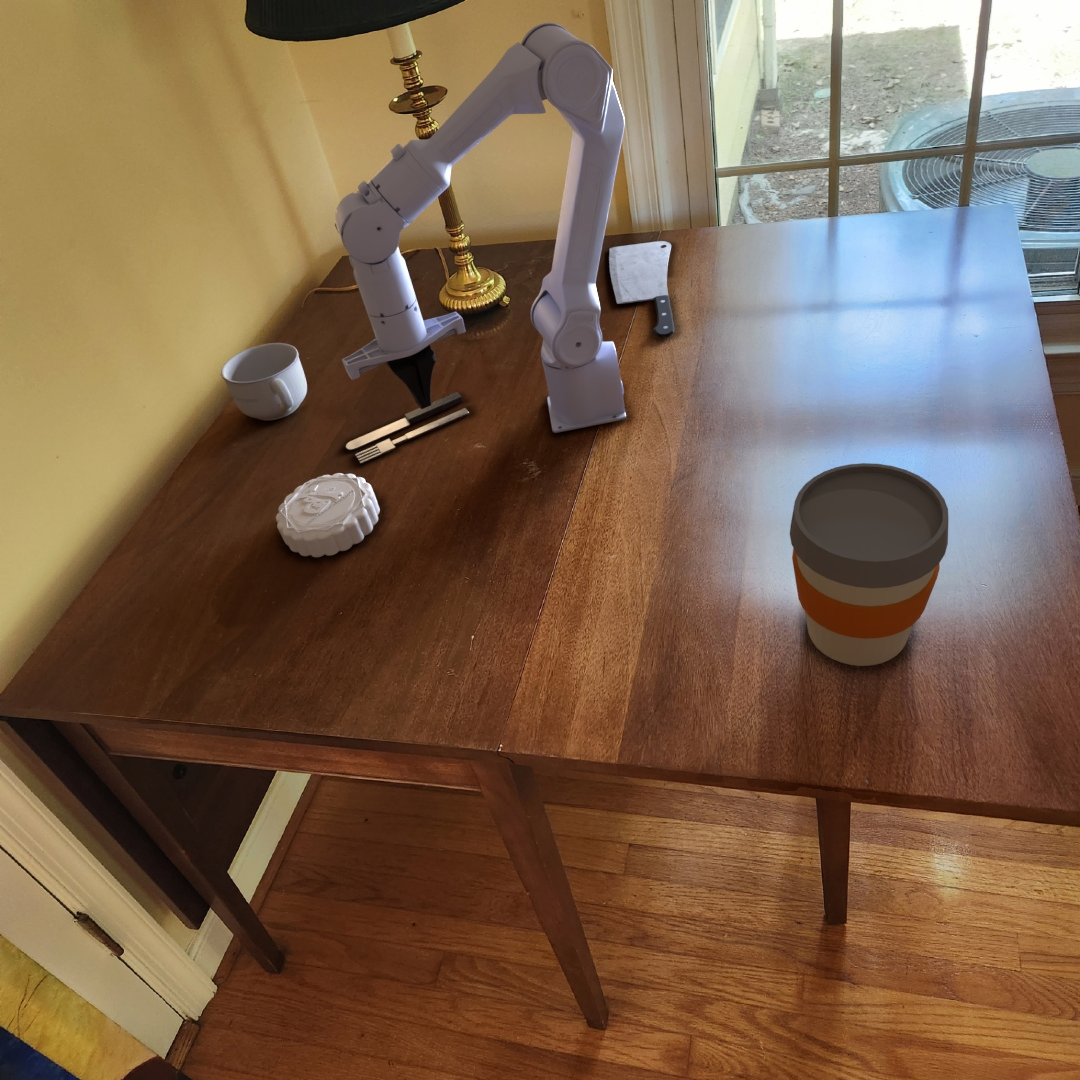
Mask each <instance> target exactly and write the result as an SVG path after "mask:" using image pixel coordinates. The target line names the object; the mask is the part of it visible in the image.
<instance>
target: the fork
mask: <svg viewBox="0 0 1080 1080" xmlns="http://www.w3.org/2000/svg"><path fill="white" fill-rule="evenodd" d="M469 415H470V411H468V409H467V408H466V407H464V408H462V409H459V410H457V411H455V412H452V413H450V414H448V415H446V416H443V417H441V418H439V419H437V420H434V421H432V422H430V423H427V424H424V425H423V426H421V427H418V428H415V429H414V430H412V431H409V432H407V433H404V435H402V436H400V437H398V438H395V439H393V440H392V439H390V438H387V439H385V440H383V441H380V442H378V443H375V445H372V446H371V447H368V448H366V449H364V450H362V451H360V452H356V453H355V454H354V456H355V458H356V459H357V461H358V462H359V464H360V465H364V464H366V463H369V462H371V461H373V460H375V459H377V458H380V457H383V456H384V455H387V454H389V453H391V452H394V451H396V450H397V448H396V447H397V446H398V445H401V444H403V443H406V442H410V441H412V440H414V439H418V438H420V437H421V436H423V435H426V434H428V433H431V432H433V431H436V430H438V429H440V428H442V427H444V426H446V425H449V424H451V423H453V422H456V421H458V420H460V419H462V418H464V417H467V416H469Z"/></svg>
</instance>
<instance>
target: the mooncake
mask: <svg viewBox="0 0 1080 1080" xmlns="http://www.w3.org/2000/svg"><path fill="white" fill-rule="evenodd" d="M277 510H278V513H277V514H276V515H275V521H276V523H277V524H276V529H277V530H278V532H279V535H280V536H281V538H282V540H283V541H284V543H285V545H287V546H288V548H289V550H290V551H291V552H294V553H298V554H299V555H300V556H302V557H309V556H311V557H312V558H321V557H323V556H324V555H325V556H328V557H329V556H330V557H331V556H334V555H336V554H338V553H339V552H345V551H348V550H349V549H351V548H352V546H353V545H357V544H359V543H361V542H362V541H364V538H365V536H368V535H370V534H371V533H372V531H373V530H374V526H375V525H376V524H377V523H378V522H379V514H380V511H381V509H380V506H379V503H378V499H377V497H376V494H375V492H374V490H373V486H372V485H371V484H370V483H369V482H366V479H365V478H364V477H361V476H356V474H354V473H345V474H344V473H341V472H337V473H334V474H332V475H330V474H323V475H321V476H318V477H316V478H312V479H309V480H308V481H306V482H304V483H303V484H302V485H298V486H297V487H295V488H294V489H293V492H291V493H289V494H287V496H285V498H284V500H283V502H282V503H281V504H280V505H279V506H278V509H277Z"/></svg>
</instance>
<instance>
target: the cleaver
mask: <svg viewBox="0 0 1080 1080" xmlns="http://www.w3.org/2000/svg"><path fill="white" fill-rule="evenodd" d="M671 249H672V244H671V243H670V242H668V241H665V240H658V241H650V242H643V243H642V242H641V243H635V244H628V245H619V246H613V247H609V253H608V254H609V255H608V261H609V262H608V263H609V274H610V278H611V279H610V281H611V285H612V289H613V293H614V297H615V301H616V304H617V305H618V304H619V305H624V304H631V303H639V302H640V303H641V302H647V301H654V306H655V312H656V325H655V327H654V328H652V332H653V333H654V334H655V335H656V336H657V337H659V338H667V337H670V336H671V335H673V334H674V332H675V330H676V329H675V323H674V317H673V311H672V307H671V301H670V300H671V299H670V296H669V291H668V289H669V288H668V266H669V261H670V260H669V259H670V254H671Z"/></svg>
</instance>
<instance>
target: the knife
mask: <svg viewBox="0 0 1080 1080" xmlns="http://www.w3.org/2000/svg"><path fill="white" fill-rule="evenodd" d="M463 402H464V401H463V397H462V395H461V394H460V393H459V392H458V391H454V392H453V393H451V394H448V395H446V396H443V397H441V398H439V399H437V400H435V401H433V402H432V401H431V403H432V405H431V406H428V407H426V408H424V409H421V408H420V407H418V408H416V409H414V410H412V411H409V412H407V413H405V414H404V417H403V418H401V419H399V420H396V421H394V422H392V423H389V424H387V425H385V426H382V427H380V428H377V429H375V430H372V431H371V432H369V433H365V434H363V435H362V436H359V437H357V438H355V439H353V440H350V441H349V442H347V443H346V444H345V448H346V450H347V451H350V452H352V451H356V450H359V449H361V448H364V447H365V446H367V445H370V444H372V443H375V442H377V441H379V440H381V439H383V438H386V437H389V436H390V435H393V434H396V433H397V432H400V431H402V430H404V429H407V428H408V427H411V425H413V424H415V423H417V422H420V421H422V420H425V419H427V418H429V417H432V416H434V415H437V414H439V413H441V412H443V411H446V410H448V409H450V408H452V407H454V406H457V405H459V404H461V403H463Z"/></svg>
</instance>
